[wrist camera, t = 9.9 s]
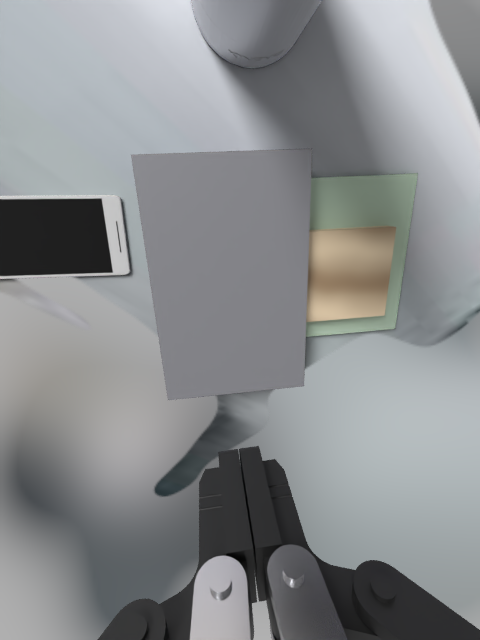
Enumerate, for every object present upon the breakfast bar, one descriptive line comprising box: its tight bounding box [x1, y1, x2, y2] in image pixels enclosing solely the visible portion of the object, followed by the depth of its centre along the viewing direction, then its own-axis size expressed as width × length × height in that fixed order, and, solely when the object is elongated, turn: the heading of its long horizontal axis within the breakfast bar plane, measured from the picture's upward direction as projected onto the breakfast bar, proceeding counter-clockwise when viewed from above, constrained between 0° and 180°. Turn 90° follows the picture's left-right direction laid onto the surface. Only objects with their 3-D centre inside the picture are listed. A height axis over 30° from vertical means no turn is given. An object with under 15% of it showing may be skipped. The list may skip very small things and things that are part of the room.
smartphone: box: [0, 195, 131, 279], centre depth 29 cm, size 7×16×1 cm, turn 90°
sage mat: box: [306, 173, 418, 337], centre depth 33 cm, size 16×11×1 cm
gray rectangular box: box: [131, 149, 312, 400], centre depth 30 cm, size 22×14×4 cm, turn 3°
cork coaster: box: [306, 226, 396, 322], centre depth 32 cm, size 9×9×2 cm
